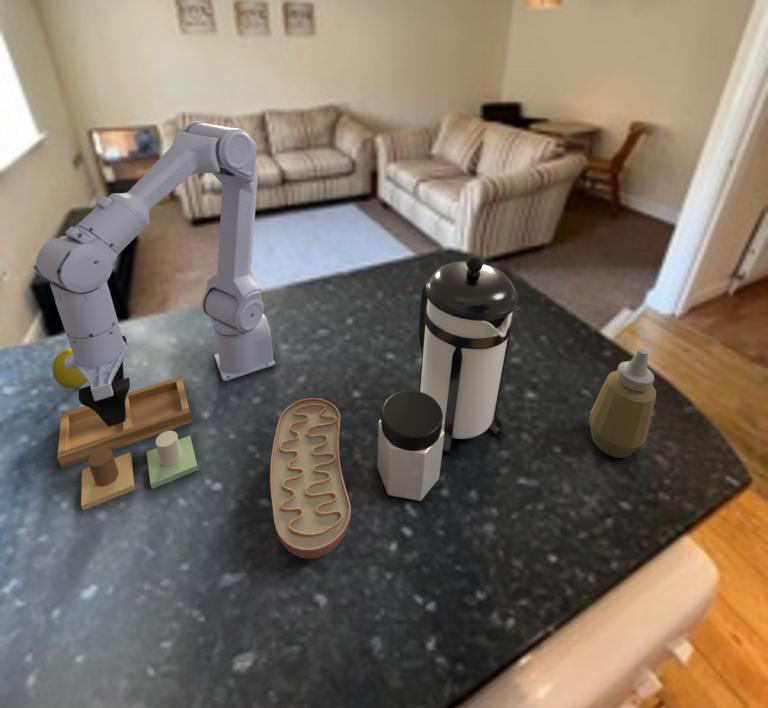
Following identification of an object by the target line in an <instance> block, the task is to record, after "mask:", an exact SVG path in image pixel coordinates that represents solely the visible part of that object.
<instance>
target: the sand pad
mask: <svg viewBox="0 0 768 708" xmlns="http://www.w3.org/2000/svg"><path fill="white" fill-rule="evenodd" d="M87 464H88V467H86V468H83V469H82V470H81V490H80V491H81V492H80V493H81V495H80V507H81V509H82V511H86V510H89V509H91V508H94V507H97V506H99V505H101V504H104V503H105V502H108V501H111V500H113V499H116V498H118V497H121V496H123V495H126V494H128V493H130V492H133V491H135V488H136V487H135V479H134V478H135V476H134V468H133V467H134V465H133V455H132V453H131V452H127V453H123V454H122V455H119V456H116V457H114V453H113V451H111V450H110V449H107V448H104V449H100V450H98V451H96V452H94V453H93V454H92V455H91V456H90V457H89V459H88V460H87Z"/></svg>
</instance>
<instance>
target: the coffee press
mask: <svg viewBox="0 0 768 708" xmlns="http://www.w3.org/2000/svg"><path fill="white" fill-rule="evenodd" d="M420 297H421V298H420V308H419V309H420V310H419V311H420V312H419V322H418V323H419V324H418V340H419V341H418V342H419V347H420V351H421V359H420V360H421V361H420V375H419V385H418V391H419V392H422V393H425V394H427V395H429V396H431V397H432V398H433V399H434V400H436V402H437V403H438V404H439V405H440V407H441V410H442V413H443V420H442V429H443V430H444V441H443V450H442V453H445V454H447V455H448V454H449V455H450V453H451V448H452V443H453V439H459V440H463V439H464V440H466V439H472V438H475V437H478V436H481V435H482V434H483V433H485V432H486V431H487V430H489V431H490V432H491V433H492V434H493V435H500V434H501V433H502V427H503V424H502V423H501V421H500V419H499V418H498V416H497V412H498V405H499V399H500V393H501V387H502V381H503V375H504V371H505V366H506V360H507V354H508V349H509V345H510V344H509V343H510V337H511V332H512V327H513V320H514V317H513V312H514V310H515V309H516V307H517V306H518V300H519V294H518V291H517V290H516V288H515V286H514V283H513V282H512V280H511V279H510V277H509V276H508V275H507V274H506V273H504V272H503V271H501V270H500V269H498V268H496V267H495V266H491V265H489V264H486V263H484V262H483V260H482V258H480V257H479V256H477V255H473V256H470V257H469V258H468V259H467V260H466V261H465V260H464V261H463V260H461V261H454V262H451V263H447V264H445V265H442V266H440V267H439V268H438V269H436V270H435V272H434V273H433V274H432V275H431V276H430V277H429V278H428V280H427V281H426V284H424V286H423V288H422V292H421V296H420ZM493 421H494V424H495V425H494V424H493Z"/></svg>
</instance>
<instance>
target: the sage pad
mask: <svg viewBox="0 0 768 708" xmlns="http://www.w3.org/2000/svg"><path fill="white" fill-rule="evenodd" d="M154 442H155V448H152V449H150V450H147V451H146V460H147V468H148V476H149V477H148V478H149V485H150V489H151V490H153V489H156V488H158V487H160V486H163V485H165V484H167V483H170V482H173V481H175V480H178V479H180V478H182V477H186V476H188V475H190V474H192V473H194V472H197V471H199V468H198V464H197V459H196V455H195V451H194V446H193V442H192V437H191V435H188V436H185V437H182V438H179V437H178V433H177V432H176V431H174V430H169V431H166V432H163V433H161V434H158V435H157V437H156V439H155V441H154Z"/></svg>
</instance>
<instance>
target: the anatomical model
mask: <svg viewBox="0 0 768 708" xmlns="http://www.w3.org/2000/svg"><path fill="white" fill-rule="evenodd" d="M340 429H341V413H340V411H339V409H338V408H337V407H336V406H335V404H333V403H332V402H330V401H328V400H326V399H323V398H319V397H318V398H316V397H309V398H304V399H300V400H297V401H295V402H293V403H291V404H290V405H288V406H287V407H286V408H285V409H284V410H283V412H282V413H281V414H280V416H279V419H278V422H277V425H276V429H275V434H274V438H273V443H272V450H271V455H270V456H271V457H270V469H269V470H270V471H269V485H270V498H271V507H272V516H273V523H274V528H275V531H276V534H277V536H278V540H279V541H280V543H281V545H282V546H283V547H284V548H285V549H286V550H287V551H288V553H290V554H292V555H293V556H296V557H298V558H301V559H307V560H313V559H318V558H322V557H324V556H326V555H328V554H330V553H331V552H332V551H334V550H335V549H336V548H337V547H338V546H339V544H340V543H341V542H342V541H343V538H344V537H345V536H346V534H347V531H348V528H349V524H350V521H351V516H352V506H351V502H350V498H349V495H348V492H347V488H346V484H345V480H344V476H343V473H342V472H343V471H342V467H341V458H340V431H341V430H340Z"/></svg>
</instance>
